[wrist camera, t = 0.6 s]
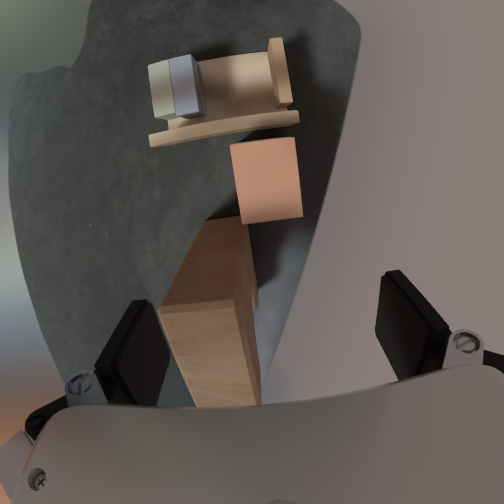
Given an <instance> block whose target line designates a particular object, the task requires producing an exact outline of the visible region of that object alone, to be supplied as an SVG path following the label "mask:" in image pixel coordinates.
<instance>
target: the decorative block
mask: <svg viewBox="0 0 504 504" xmlns="http://www.w3.org/2000/svg"><path fill="white" fill-rule="evenodd" d="M257 308H258V288H257V281H256V275H255V268H254V262H253V256H252V249H251V243H250V237H249V230H248V224H244V225H242V220H241V215H240V216H233V217H227V218H220V219H213V220H207V221H205V222H204V223H203V225H202V226H201V228H200V230H199V232H198V234H197V235H196V237H195V239H194V241H193V243H192V245H191V247H190V248H189V250H188V252H187V254H186V256H185V258H184V260H183V262H182V263H181V265H180V267H179V269H178V271H177V273H176V275H175V277H174V279H173V281H172V283H171V284H170V286H169V288H168V290H167V292H166V294H165V296H164V298H163V300H162V303H161V305H160V307H159V309H158V311H157V312H158V315H159V318H160V321H161V323H162V326H163V329H164V331H165V334H166V337H167V339H168V342H169V344H170V347H171V349H172V352H173V354H174V357H175V359H176V362H177V364H178V366H179V369H180V371H181V373H182V376H183V378H184V380H185V382H186V385H187V387H188V389H189V391H190V393H191V396H192V398H193V400H194V402H195V404H196V406H197V407H230V406H248V405H261V374H260V365H259V358H258V352H257V344H256V336H255V328H254V317H253V310H254V309H257Z"/></svg>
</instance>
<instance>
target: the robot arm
mask: <svg viewBox="0 0 504 504" xmlns="http://www.w3.org/2000/svg"><path fill="white" fill-rule="evenodd" d="M375 334H376V337H377V339H378V341H379V342H380V344H381V346H382V348H383V350H384V352H385V354H386V356H387V358H388V360H389V362H390V364H391V366H392V368H393V370H394V372H395V374H396V376H397V378H398V380H399V381H396V382H392V383H388V384H384V385H380V386H375V387H371V388H366V389H362V390H358V391H352V392H347V393H342V394H337V395H332V396H325V397H319V398H312V399H306V400H298V401H291V402H282V403H273V404H261V405H248V406H230V407H158V406H156V404H157V401H158V397H159V394H160V391H161V387H162V384H163V381H164V377H165V374H166V371H167V367H168V364H169V361H170V351H169V348H168V346H167V343H166V341H165V338H164V335H163V333H162V330H161V327H160V325H159V322H158V319H157V316H156V314H155V311H154V308H153V305H152V303H148V301H147V300H146V299H144V300H133V301H132V302H131V304H130V305H129V307H128V309H127V310H126V312H125V314H124V315H123V317H122V319H121V320H120V322H119V323H118V325H117V327H116V329H115V330H114V332H113V334H112V335H111V337H110V339H109V340H108V342H107V344H106V346H105V347H104V349H103V351H102V353H101V354H100V356H99V358H98V360H97V362H96V363H95V365H94V366H95V368H96V369H95V370H94V372H91V371H81V372H78V373H76V374H74V375H72V376H71V377H70V378H69V379H68V381H67V382H66V384H65V396H63V397H61V398H59V399H57V400H55V401H53V402H51V403H49V404H47V405H45V406H43V407H41V408H39V409H37V410H35V411H34V412H33V413H31V414H30V415H29V417H28V418H27V420H26V422H25V431H22V429H21V430H20V431H18V432H17V433H16V434H15V435H14V436H12V437H11V438H10V439H9V440H8V441H7V442H6V443H4V444H3V445H2V446H1V447H0V482H1V484H2V486H3V488H4V490H5V491H6V493H7V495H8V497H9V498H10V500H11V504H504V355H500V354H497V353H493V352H490V351H486V350H484V343H483V340H482V338H481V337H480V336H479V335H478V334H476V333H475V332H472V331H470V330H464V329H463V330H457V331H455V332H453V333H452V332H451V331H450V329H449V326H448V325H447V323H446V322H445V321H444V320H443V318H442V317H441V316H440V315H439V314H438V312H437V311H436V310H435V309H434V308H433V307H432V305H431V304H430V303H429V302H428V301H427V300H426V298H425V297H424V296H423V295H422V294H421V293H420V292H419V291H418V289H417V288H416V287H415V286H414V285H413V284H412V283H411V282H410V281H409V280H408V278H407V277H406V276H405V275H404V274H403V273H402V272H401V271H400V270H393V271H387V272H386V273H385V275H384V276H382V277H381V285H380V294H379V303H378V311H377V318H376V326H375Z"/></svg>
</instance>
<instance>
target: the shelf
mask: <svg viewBox="0 0 504 504" xmlns="http://www.w3.org/2000/svg"><path fill="white" fill-rule="evenodd" d="M148 71H149V79H150V87H151V95H152V102H153V109H154V116H155V118H160V119H166V120H168V126H169V130H168V131H163V132H159V133H155V134H151V135H149V141H150V147H156V146H165V145H173V144H178V143H183V142H187V141H192V140H197V139H203V138H208V137H214V136H219V135H225V134H231V133H238V132H245V131H252V130H259V129H268V128H276V127H286V126H291V125H294V124H297V123H300V120H299V113H298V110H292V111H287V107H288V106H289V105H290V104H291V103H292V102H293V99H292V93H291V86H290V80H289V74H288V68H287V63H286V57H285V51H284V46H283V41H282V38H270V40H269V46H268V51H267V52H257V53H249V54H241V55H234V56H228V57H222V58H216V59H211V60H205V61H200V62H196V60H195V59H194V58H193V57H192V55H191V54H189V55H184V56H180V57H176V58H172V59H169V60H165V61H161V62H158V63H154V64H151V65H148Z"/></svg>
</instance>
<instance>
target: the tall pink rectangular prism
mask: <svg viewBox="0 0 504 504" xmlns="http://www.w3.org/2000/svg"><path fill="white" fill-rule="evenodd" d="M230 150H231V157H232V163H233V169H234V176H235V182H236V189H237V195H238V201H239V207H240V214H241V220H242V225H244V224H251V223H259V222H266V221H274V220H282V219H290V218H298V217H303V211H302V200H301V190H300V181H299V172H298V163H297V155H296V147H295V139H294V137H280V138H271V139H262V140H255V141H247V142H241V143H236V144H232V145H230Z"/></svg>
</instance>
